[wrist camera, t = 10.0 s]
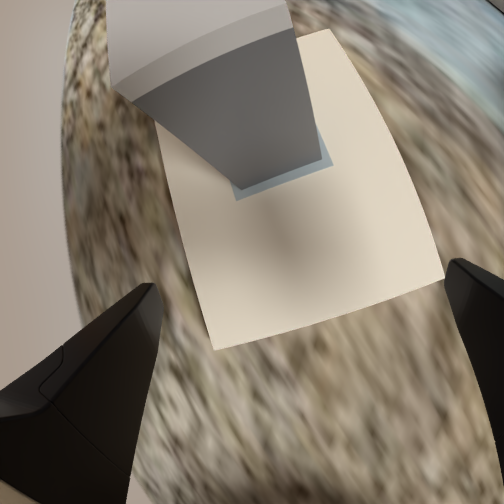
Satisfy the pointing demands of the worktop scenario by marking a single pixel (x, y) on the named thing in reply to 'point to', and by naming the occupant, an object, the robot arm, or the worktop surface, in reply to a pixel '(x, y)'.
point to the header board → (304, 218)
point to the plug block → (218, 80)
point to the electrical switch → (498, 4)
